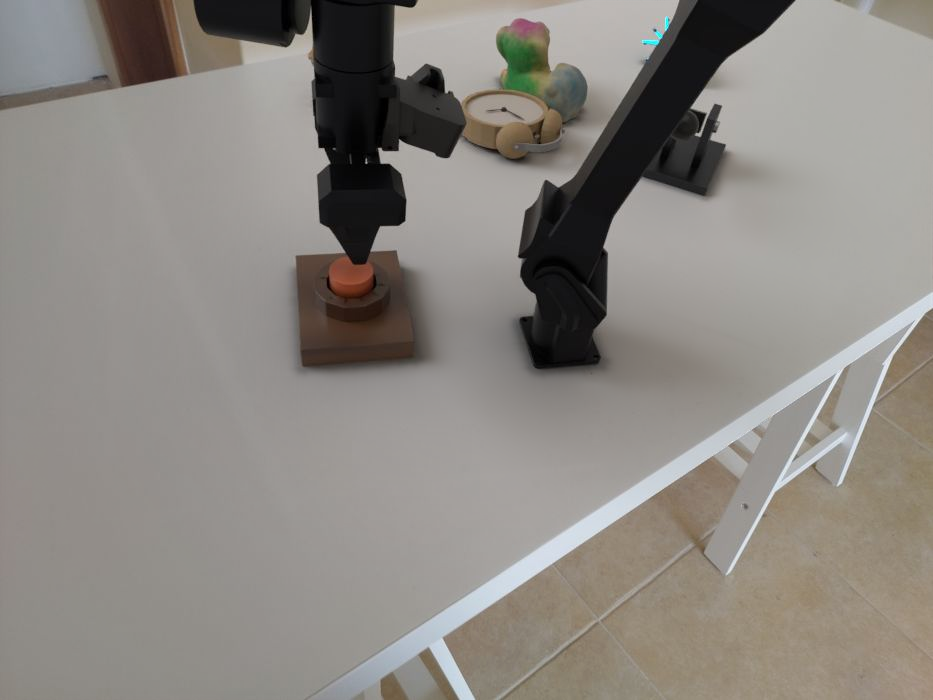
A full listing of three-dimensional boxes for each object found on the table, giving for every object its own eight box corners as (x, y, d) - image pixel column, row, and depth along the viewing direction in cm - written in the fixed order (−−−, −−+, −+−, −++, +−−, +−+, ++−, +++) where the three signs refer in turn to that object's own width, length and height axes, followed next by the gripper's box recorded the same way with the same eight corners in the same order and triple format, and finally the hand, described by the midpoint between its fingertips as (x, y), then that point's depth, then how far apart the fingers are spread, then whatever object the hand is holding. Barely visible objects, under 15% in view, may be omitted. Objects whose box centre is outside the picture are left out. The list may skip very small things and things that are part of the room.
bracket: (704, 196, 90) (725, 139, 85) (634, 174, 92) (650, 117, 87) (723, 152, 98) (744, 97, 92) (658, 132, 100) (674, 78, 95)
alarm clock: (506, 81, 100) (587, 110, 91) (506, 117, 103) (584, 148, 94) (441, 102, 95) (520, 134, 86) (443, 139, 98) (520, 174, 89)
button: (375, 297, 67) (375, 283, 66) (331, 300, 66) (330, 285, 65) (371, 269, 70) (371, 255, 69) (328, 271, 69) (327, 257, 68)
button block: (413, 357, 67) (415, 326, 64) (302, 366, 65) (298, 335, 62) (396, 266, 76) (396, 235, 73) (297, 272, 74) (294, 240, 71)
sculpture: (595, 111, 103) (611, 40, 96) (557, 130, 98) (571, 57, 91) (516, 72, 109) (525, 2, 102) (477, 88, 105) (484, 17, 97)
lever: (690, 145, 77) (702, 115, 76) (661, 137, 78) (672, 106, 77) (702, 136, 92) (712, 110, 91) (678, 129, 93) (687, 103, 92)
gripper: (486, 122, 48) (464, 298, 60) (444, 6, 61) (432, 169, 72) (314, 121, 46) (324, 304, 57) (306, 1, 59) (316, 170, 70)
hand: (355, 229), depth 64 cm, fingers open, 9 cm apart
